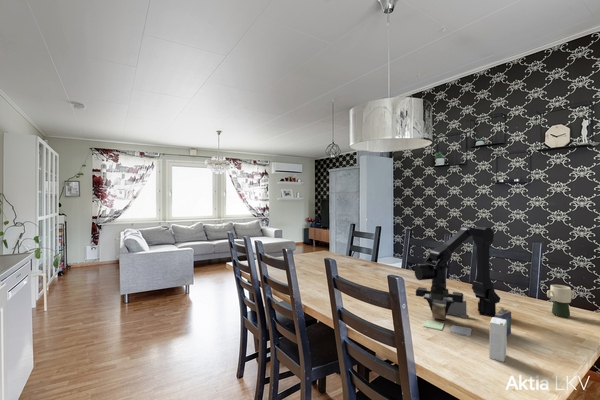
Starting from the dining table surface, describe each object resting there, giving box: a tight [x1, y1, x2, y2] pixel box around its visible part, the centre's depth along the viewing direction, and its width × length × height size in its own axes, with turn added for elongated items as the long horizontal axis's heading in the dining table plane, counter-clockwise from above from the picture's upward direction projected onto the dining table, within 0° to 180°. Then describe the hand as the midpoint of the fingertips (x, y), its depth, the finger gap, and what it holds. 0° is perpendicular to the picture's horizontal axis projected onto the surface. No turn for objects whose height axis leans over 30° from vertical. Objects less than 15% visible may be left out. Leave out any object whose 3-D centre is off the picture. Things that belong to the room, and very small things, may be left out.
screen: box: [433, 298, 468, 319], centre depth 138 cm, size 14×5×7 cm, turn 58°
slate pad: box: [450, 324, 472, 337], centre depth 119 cm, size 7×7×1 cm
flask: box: [495, 306, 512, 337], centre depth 115 cm, size 9×3×11 cm, turn 121°
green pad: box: [423, 319, 445, 331], centre depth 125 cm, size 7×7×1 cm
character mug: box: [546, 284, 575, 318], centre depth 135 cm, size 11×7×13 cm, turn 83°
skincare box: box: [488, 316, 508, 363], centre depth 100 cm, size 6×4×12 cm
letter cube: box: [431, 303, 447, 321], centre depth 132 cm, size 5×5×5 cm
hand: (439, 314), depth 132 cm, fingers closed on letter cube, 5 cm apart
